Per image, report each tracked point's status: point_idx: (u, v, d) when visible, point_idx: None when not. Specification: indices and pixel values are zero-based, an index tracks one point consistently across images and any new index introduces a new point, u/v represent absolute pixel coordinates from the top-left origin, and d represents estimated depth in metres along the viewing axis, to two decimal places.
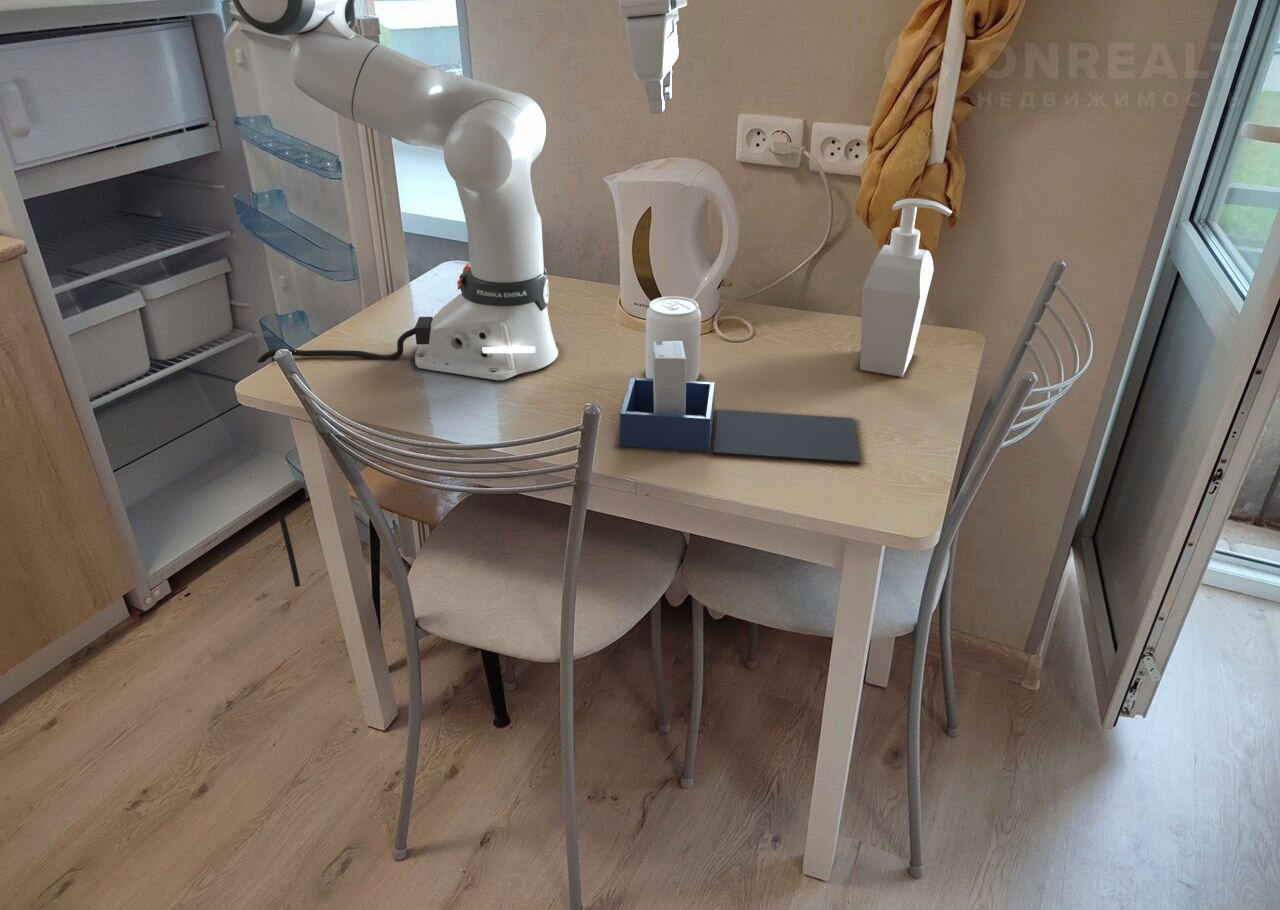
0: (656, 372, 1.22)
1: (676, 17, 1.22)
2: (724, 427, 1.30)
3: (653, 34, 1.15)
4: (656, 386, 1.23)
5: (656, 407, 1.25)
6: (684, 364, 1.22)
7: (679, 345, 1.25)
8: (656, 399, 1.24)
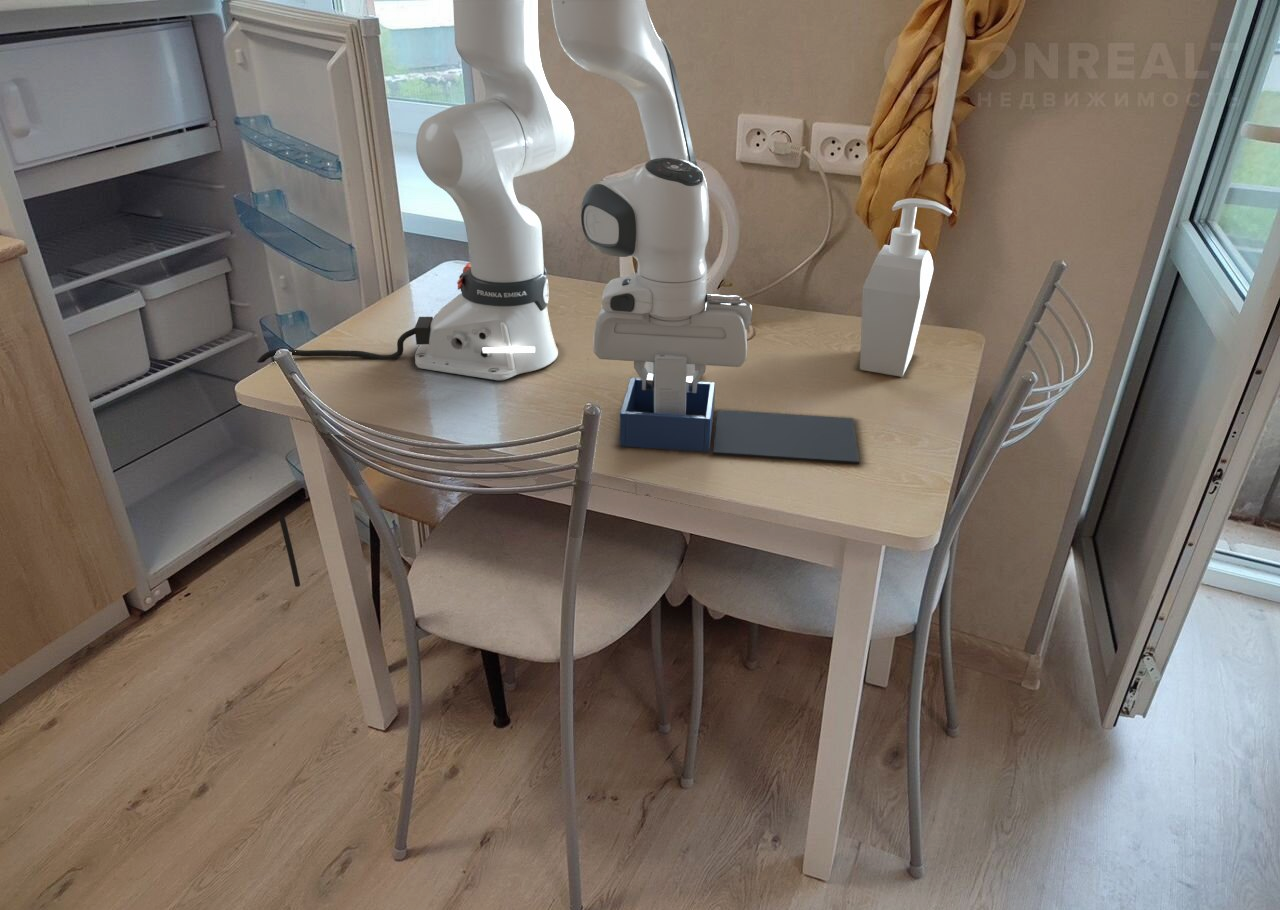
0: (657, 372, 1.22)
1: (661, 322, 1.19)
2: (724, 427, 1.30)
3: None
4: (657, 386, 1.23)
5: (656, 407, 1.25)
6: (685, 364, 1.22)
7: None
8: (656, 399, 1.24)
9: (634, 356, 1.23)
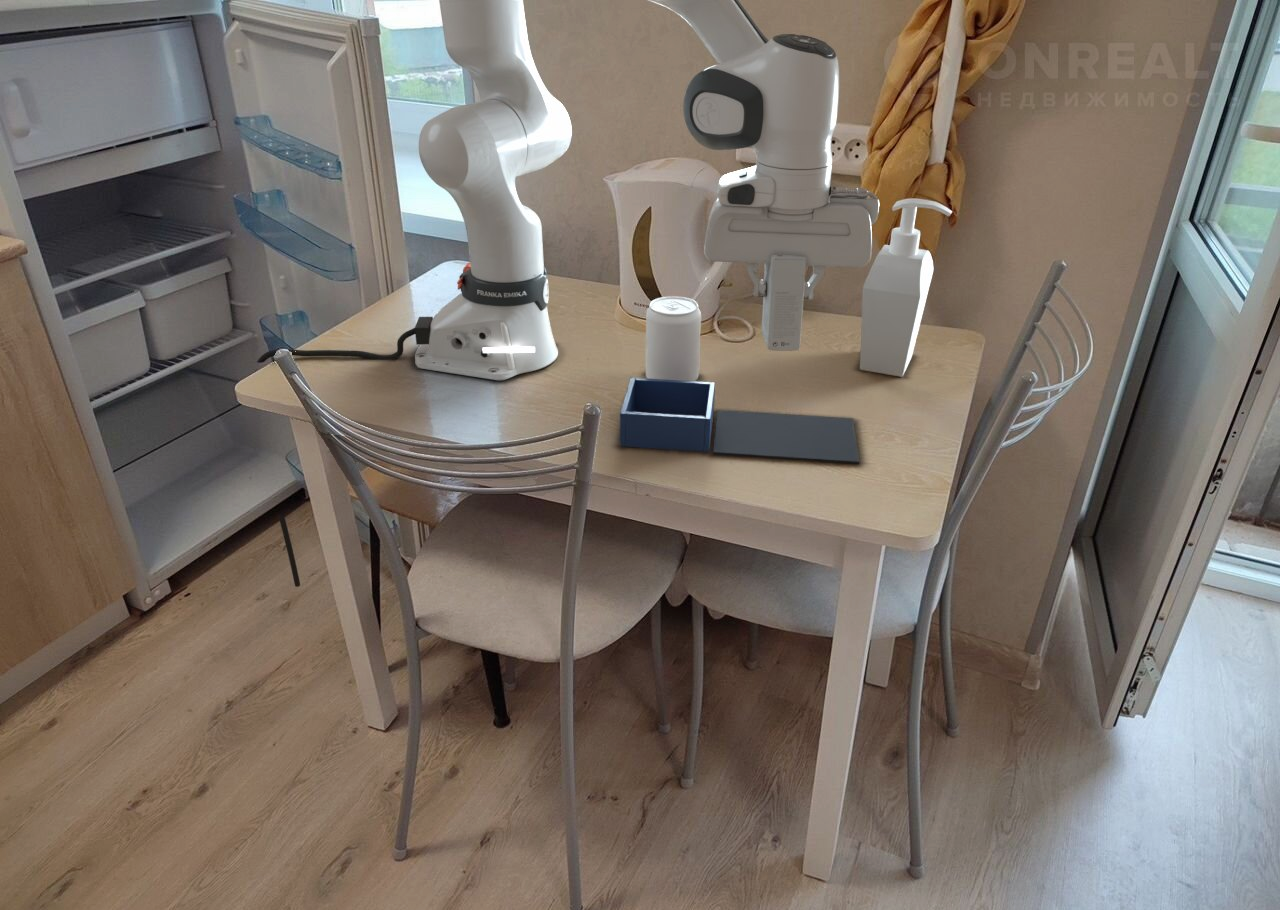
0: (774, 273, 1.13)
1: (782, 217, 1.10)
2: (724, 427, 1.30)
3: (709, 216, 1.13)
4: (772, 289, 1.14)
5: (771, 313, 1.16)
6: (804, 265, 1.13)
7: None
8: (771, 304, 1.15)
9: (748, 257, 1.14)
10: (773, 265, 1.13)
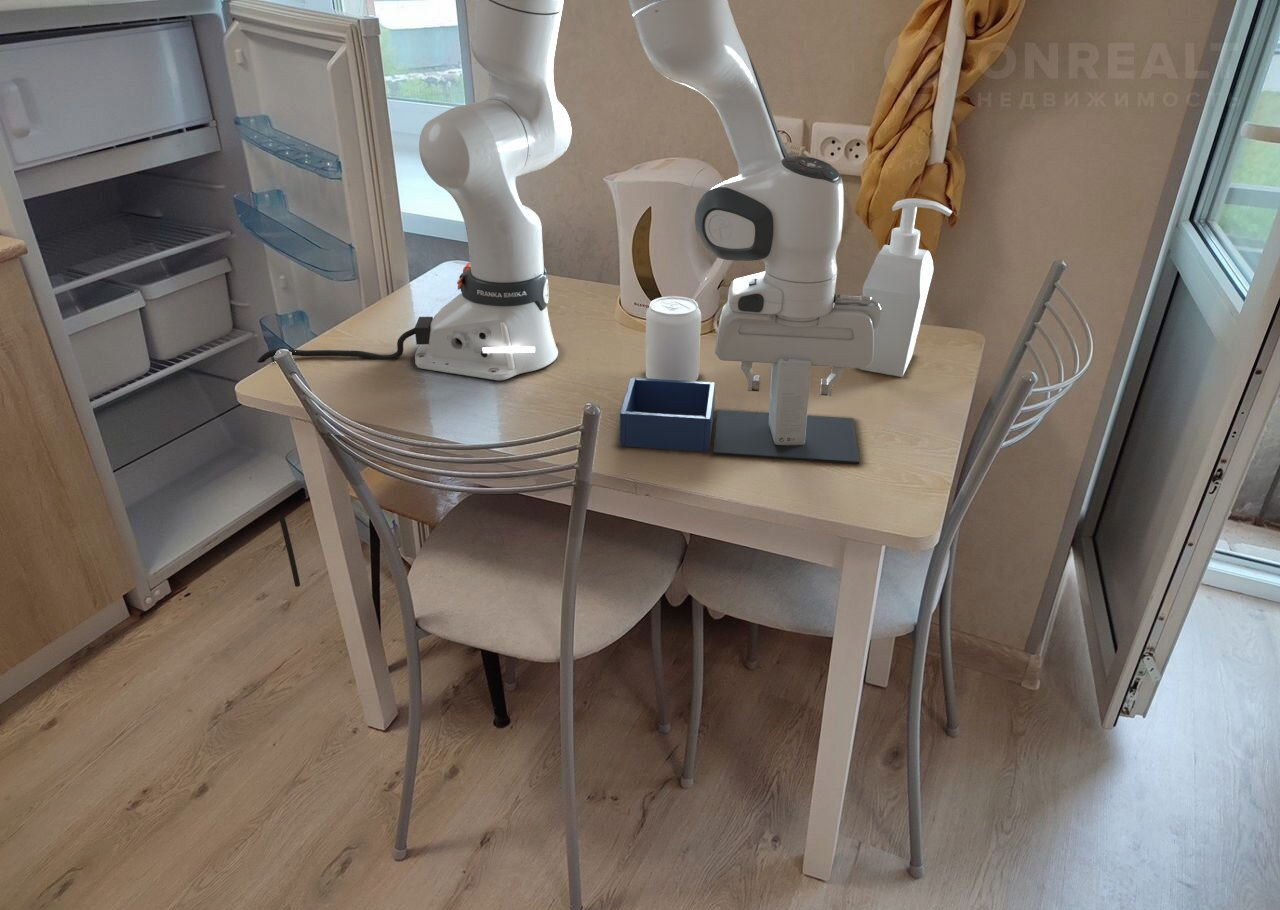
0: (780, 376, 1.20)
1: (789, 323, 1.17)
2: (724, 427, 1.30)
3: (720, 320, 1.20)
4: (779, 391, 1.21)
5: (778, 412, 1.23)
6: (809, 368, 1.20)
7: None
8: (778, 404, 1.22)
9: (757, 357, 1.21)
10: (780, 369, 1.20)
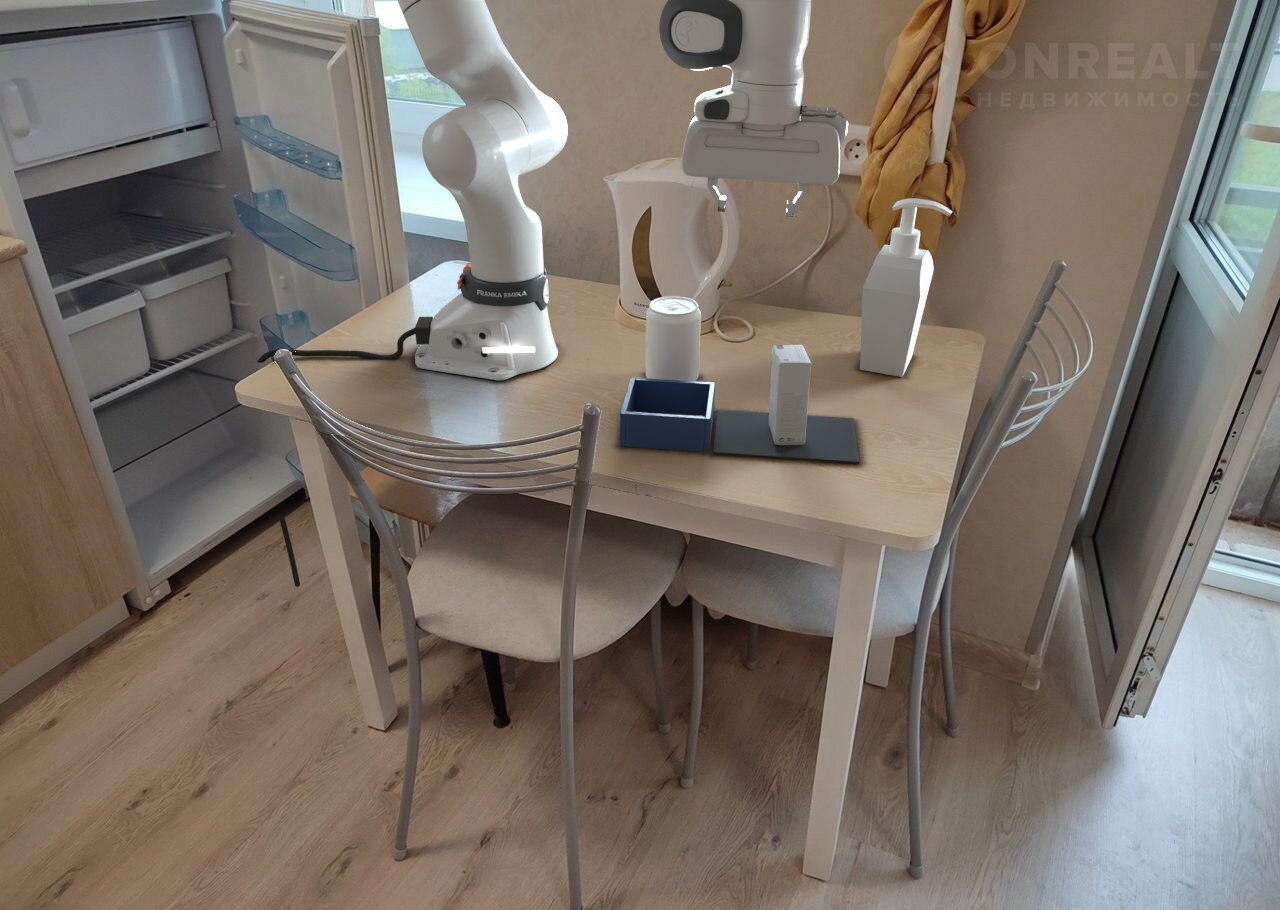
0: (780, 376, 1.20)
1: (755, 132, 1.16)
2: (724, 427, 1.30)
3: None
4: (779, 391, 1.21)
5: (778, 412, 1.23)
6: (809, 368, 1.20)
7: (801, 349, 1.23)
8: (778, 404, 1.22)
9: (723, 172, 1.20)
10: (780, 369, 1.20)
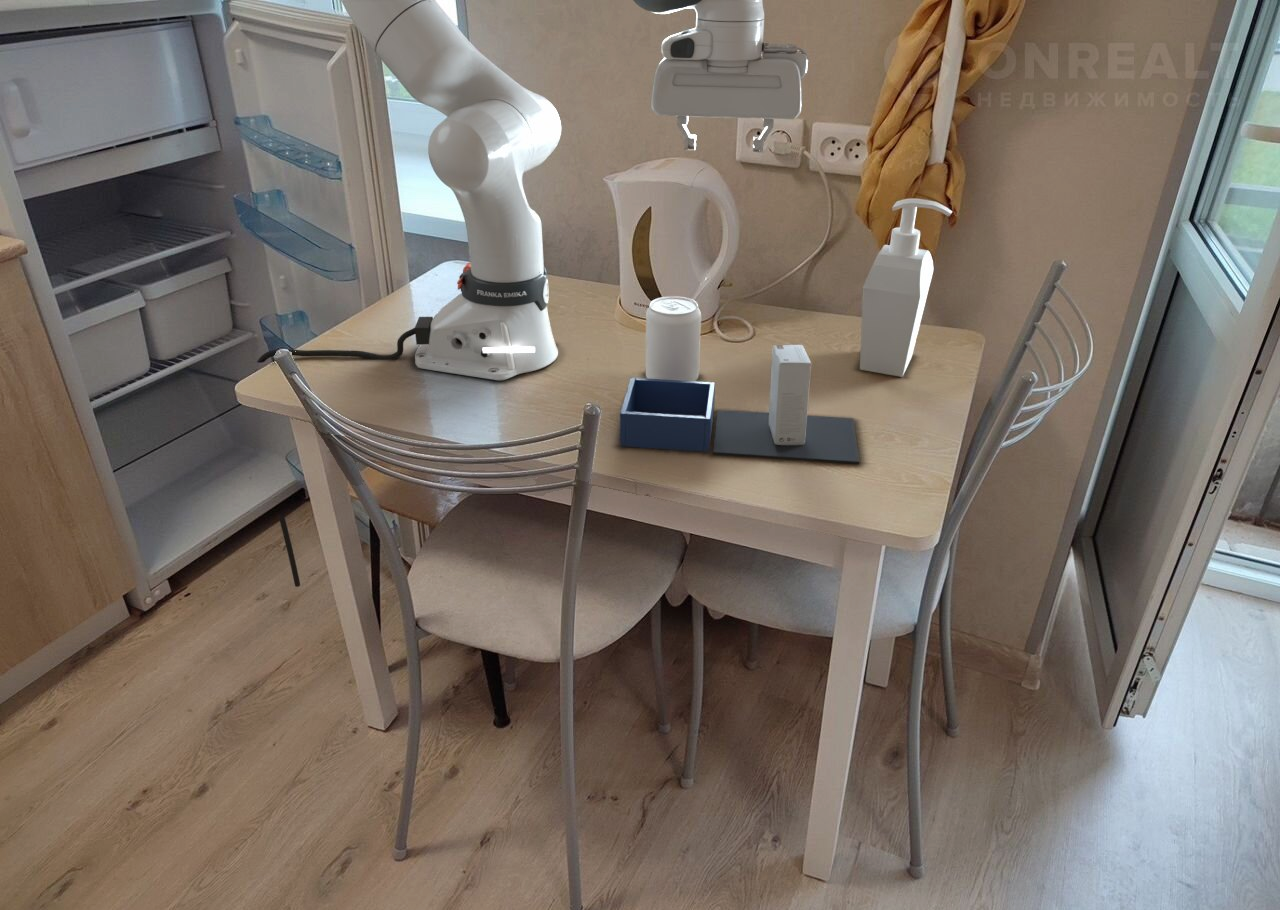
0: (780, 376, 1.20)
1: (720, 69, 1.22)
2: (724, 427, 1.30)
3: None
4: (779, 391, 1.21)
5: (778, 412, 1.23)
6: (809, 368, 1.20)
7: (801, 349, 1.23)
8: (778, 404, 1.22)
9: (691, 110, 1.26)
10: (780, 369, 1.20)
